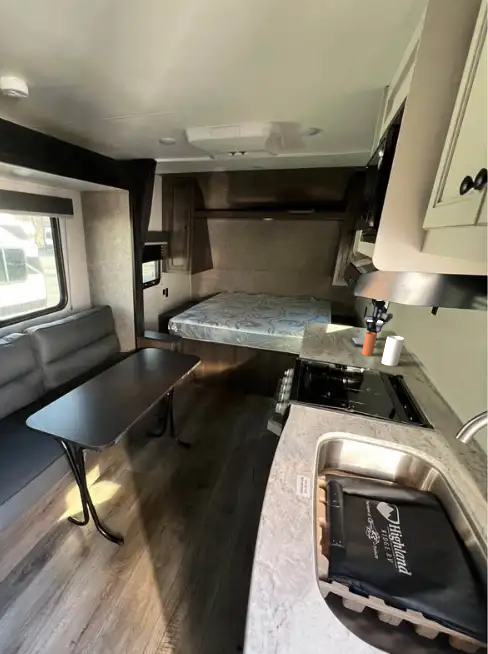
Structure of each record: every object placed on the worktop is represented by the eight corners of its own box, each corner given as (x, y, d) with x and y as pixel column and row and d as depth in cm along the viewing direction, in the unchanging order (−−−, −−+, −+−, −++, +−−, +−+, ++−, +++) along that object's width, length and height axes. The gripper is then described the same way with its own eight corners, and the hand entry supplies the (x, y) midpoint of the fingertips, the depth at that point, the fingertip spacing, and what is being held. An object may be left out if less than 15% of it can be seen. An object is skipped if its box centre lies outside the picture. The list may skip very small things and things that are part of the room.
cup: (399, 366, 190) (406, 339, 184) (384, 365, 192) (390, 339, 186) (394, 361, 198) (400, 335, 192) (379, 360, 199) (385, 335, 193)
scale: (350, 340, 238) (351, 337, 237) (367, 341, 235) (368, 338, 234) (354, 346, 224) (355, 343, 223) (372, 348, 222) (373, 344, 221)
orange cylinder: (360, 352, 213) (364, 331, 208) (371, 353, 212) (375, 332, 207) (362, 355, 208) (367, 334, 203) (373, 356, 206) (378, 334, 201)
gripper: (383, 307, 200) (378, 333, 202) (399, 310, 209) (394, 334, 212) (365, 306, 209) (361, 331, 212) (381, 309, 219) (376, 332, 222)
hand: (373, 332), depth 214 cm, fingers open, 9 cm apart
